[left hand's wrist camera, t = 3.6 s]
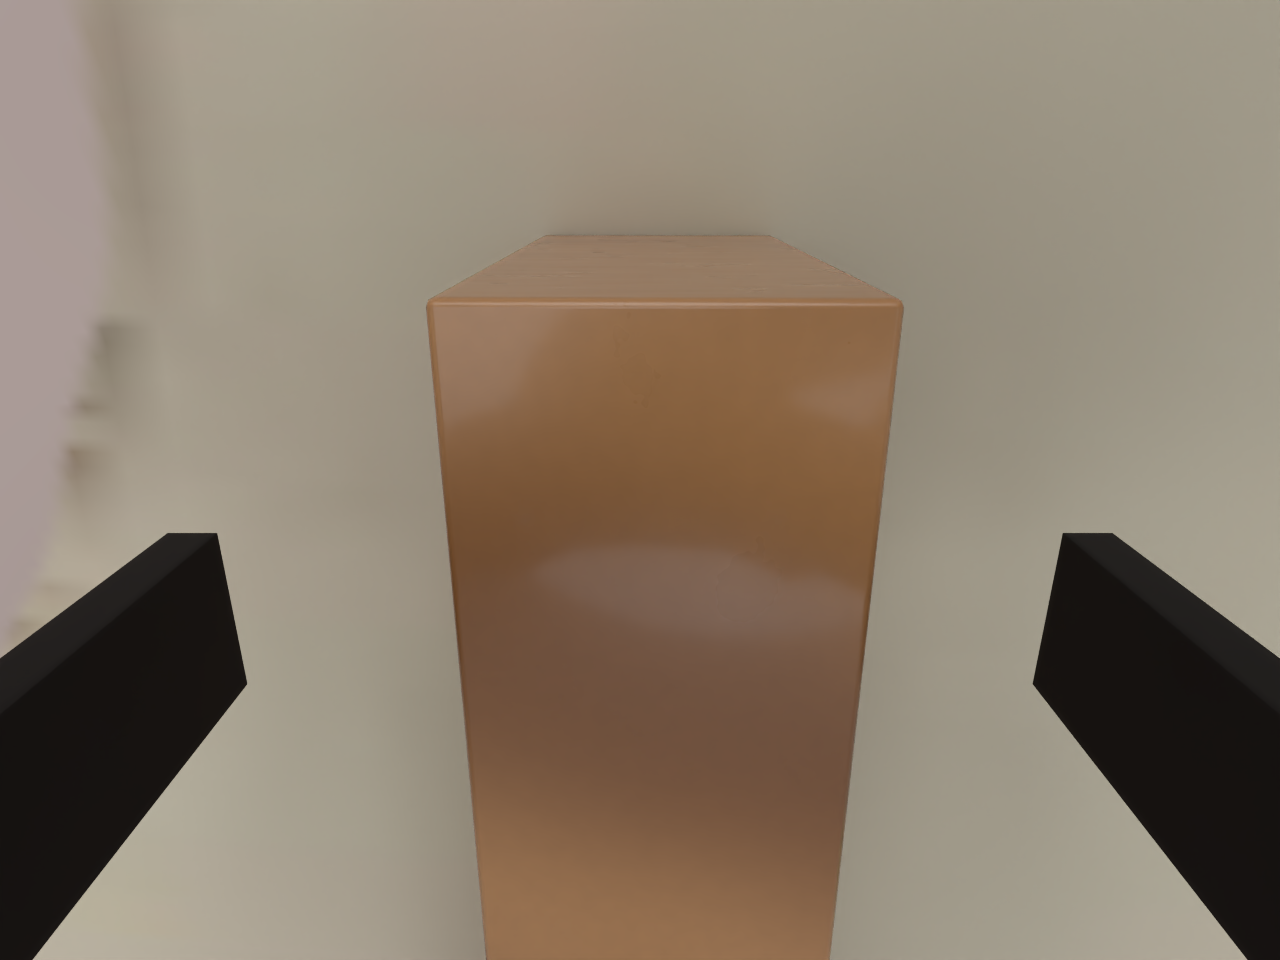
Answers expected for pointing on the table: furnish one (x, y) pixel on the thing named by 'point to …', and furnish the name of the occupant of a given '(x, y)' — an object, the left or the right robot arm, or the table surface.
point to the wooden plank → (661, 585)
